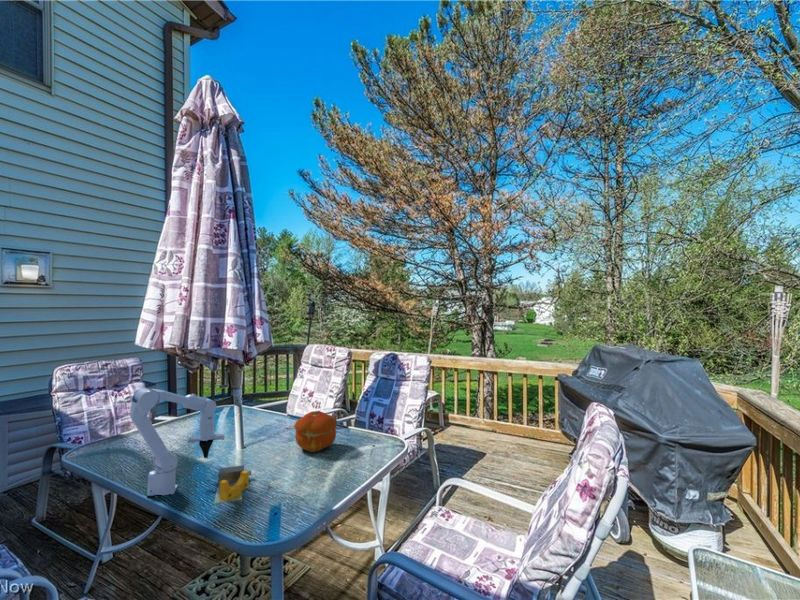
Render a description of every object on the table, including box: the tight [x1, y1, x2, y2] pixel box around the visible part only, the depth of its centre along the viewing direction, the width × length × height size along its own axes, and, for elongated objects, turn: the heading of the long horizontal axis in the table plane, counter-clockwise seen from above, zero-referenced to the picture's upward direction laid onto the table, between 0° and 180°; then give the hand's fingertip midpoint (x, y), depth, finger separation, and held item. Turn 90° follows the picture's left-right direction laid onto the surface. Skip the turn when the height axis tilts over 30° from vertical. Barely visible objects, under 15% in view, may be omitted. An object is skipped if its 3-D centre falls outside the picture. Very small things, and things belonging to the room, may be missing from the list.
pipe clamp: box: [219, 470, 250, 501], centre depth 156 cm, size 12×4×6 cm, turn 152°
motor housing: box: [213, 465, 252, 505], centre depth 160 cm, size 13×22×5 cm, turn 20°
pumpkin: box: [294, 410, 338, 453], centre depth 207 cm, size 23×23×20 cm
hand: (205, 457), depth 169 cm, fingers closed
